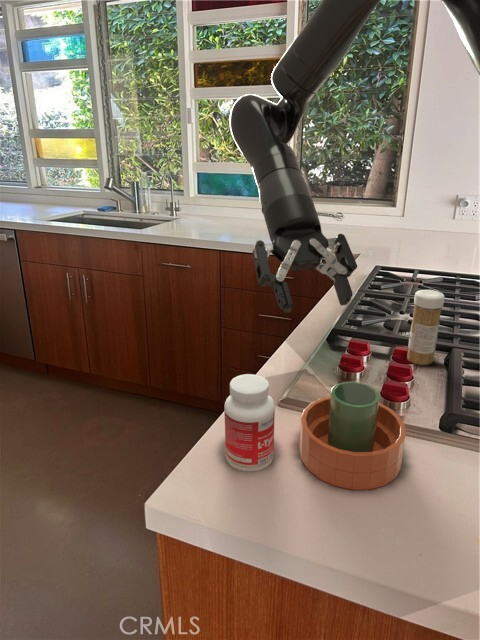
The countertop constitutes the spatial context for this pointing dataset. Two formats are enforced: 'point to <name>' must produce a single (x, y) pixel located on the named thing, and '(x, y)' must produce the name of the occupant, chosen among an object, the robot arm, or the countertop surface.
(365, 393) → the green cup
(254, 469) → the pill bottle
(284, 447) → the countertop surface
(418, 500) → the countertop surface
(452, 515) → the countertop surface
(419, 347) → the sprinkles bottle
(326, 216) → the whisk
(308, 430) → the terracotta bowl
